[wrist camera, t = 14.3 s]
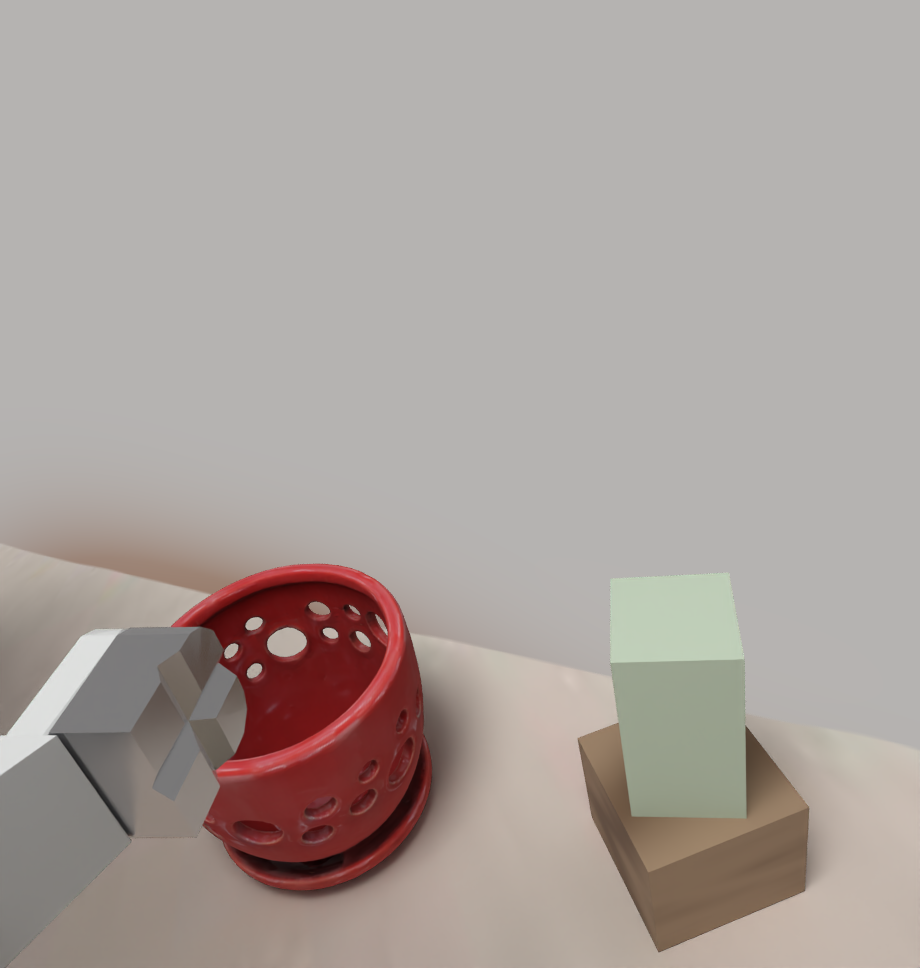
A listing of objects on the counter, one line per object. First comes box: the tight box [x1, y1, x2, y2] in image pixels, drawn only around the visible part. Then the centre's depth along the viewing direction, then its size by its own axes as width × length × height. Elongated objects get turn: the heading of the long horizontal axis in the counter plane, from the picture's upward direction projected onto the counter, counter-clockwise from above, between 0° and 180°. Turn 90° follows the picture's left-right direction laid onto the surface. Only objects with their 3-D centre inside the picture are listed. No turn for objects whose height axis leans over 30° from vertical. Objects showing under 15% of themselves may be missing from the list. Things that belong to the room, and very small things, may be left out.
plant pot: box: [171, 564, 432, 890], centre depth 41 cm, size 13×13×12 cm
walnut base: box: [578, 723, 809, 952], centre depth 36 cm, size 7×7×6 cm
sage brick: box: [610, 573, 747, 819], centre depth 32 cm, size 4×4×9 cm
